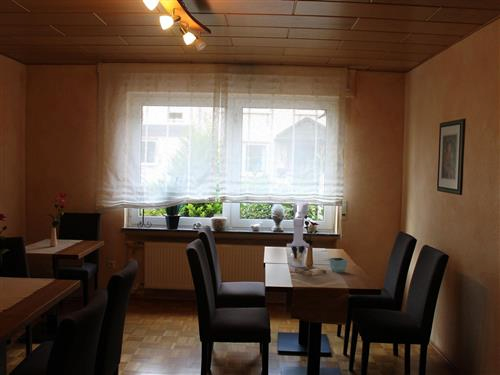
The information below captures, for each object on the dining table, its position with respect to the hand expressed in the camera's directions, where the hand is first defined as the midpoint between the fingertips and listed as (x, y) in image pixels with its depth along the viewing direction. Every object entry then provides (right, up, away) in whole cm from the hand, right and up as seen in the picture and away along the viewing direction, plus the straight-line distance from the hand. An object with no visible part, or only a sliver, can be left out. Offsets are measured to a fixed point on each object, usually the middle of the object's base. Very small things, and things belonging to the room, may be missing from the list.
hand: (297, 258), depth 301 cm
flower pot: (+27, -11, +7) cm, 30 cm away
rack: (+8, -10, +1) cm, 13 cm away
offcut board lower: (+11, -9, -1) cm, 14 cm away
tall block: (0, -2, 0) cm, 2 cm away
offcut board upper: (+11, -8, -1) cm, 14 cm away
